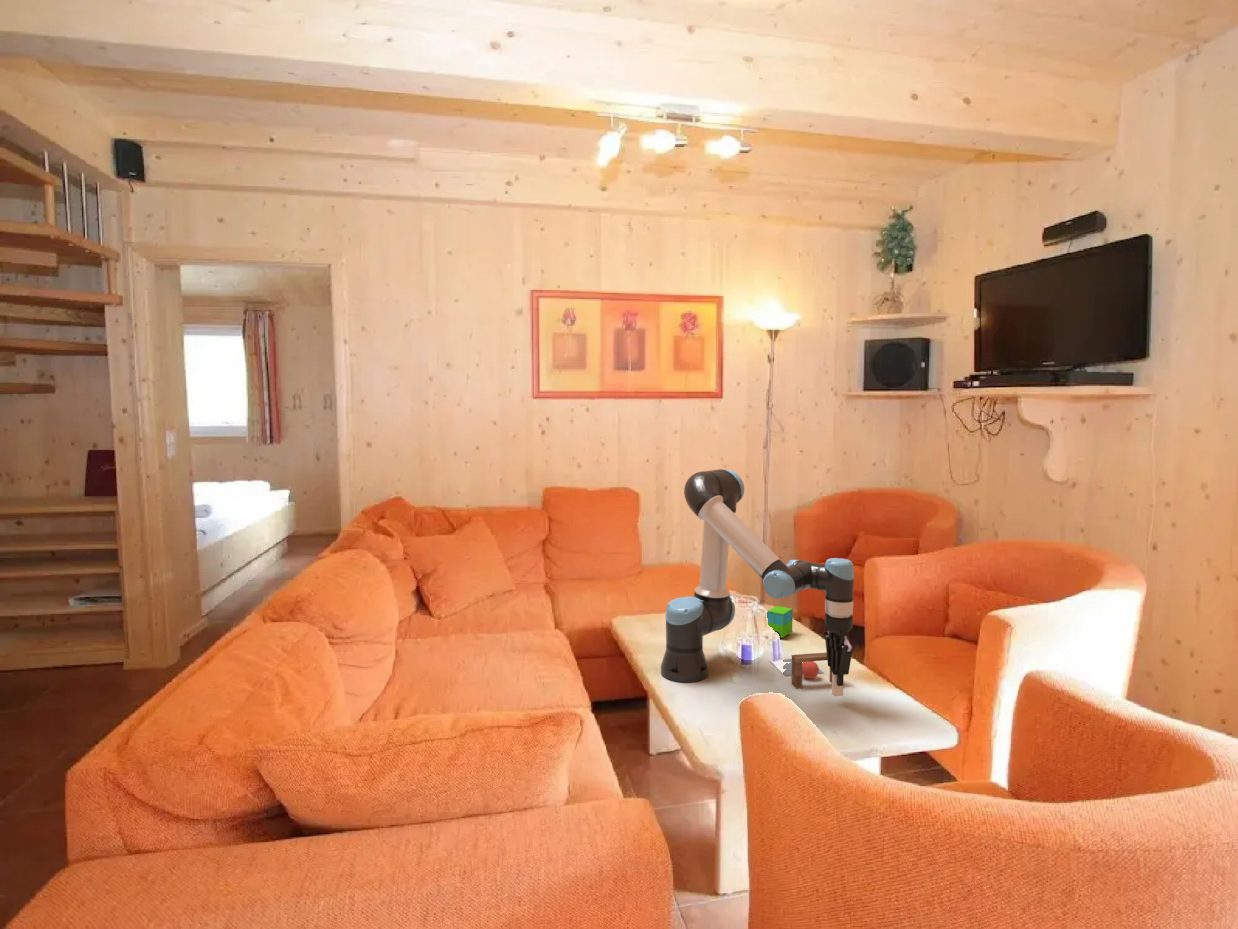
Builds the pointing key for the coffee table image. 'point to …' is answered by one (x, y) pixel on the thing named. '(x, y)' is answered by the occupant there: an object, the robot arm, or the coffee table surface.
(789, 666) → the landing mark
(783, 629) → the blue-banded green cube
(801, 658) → the bridge
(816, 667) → the ball
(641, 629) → the coffee table surface
